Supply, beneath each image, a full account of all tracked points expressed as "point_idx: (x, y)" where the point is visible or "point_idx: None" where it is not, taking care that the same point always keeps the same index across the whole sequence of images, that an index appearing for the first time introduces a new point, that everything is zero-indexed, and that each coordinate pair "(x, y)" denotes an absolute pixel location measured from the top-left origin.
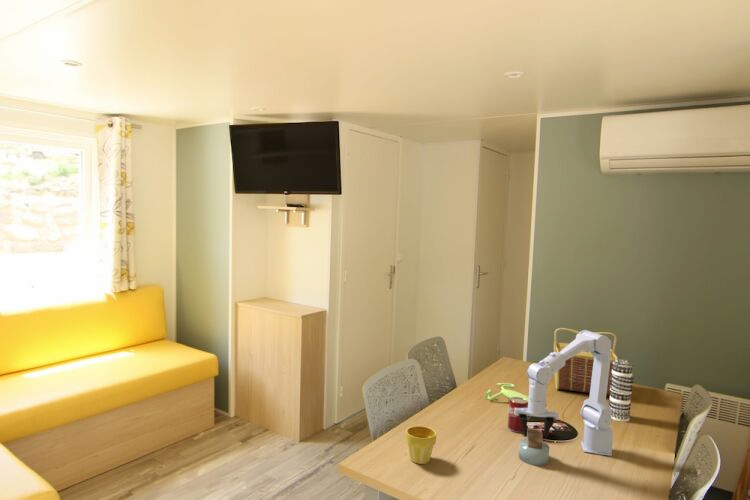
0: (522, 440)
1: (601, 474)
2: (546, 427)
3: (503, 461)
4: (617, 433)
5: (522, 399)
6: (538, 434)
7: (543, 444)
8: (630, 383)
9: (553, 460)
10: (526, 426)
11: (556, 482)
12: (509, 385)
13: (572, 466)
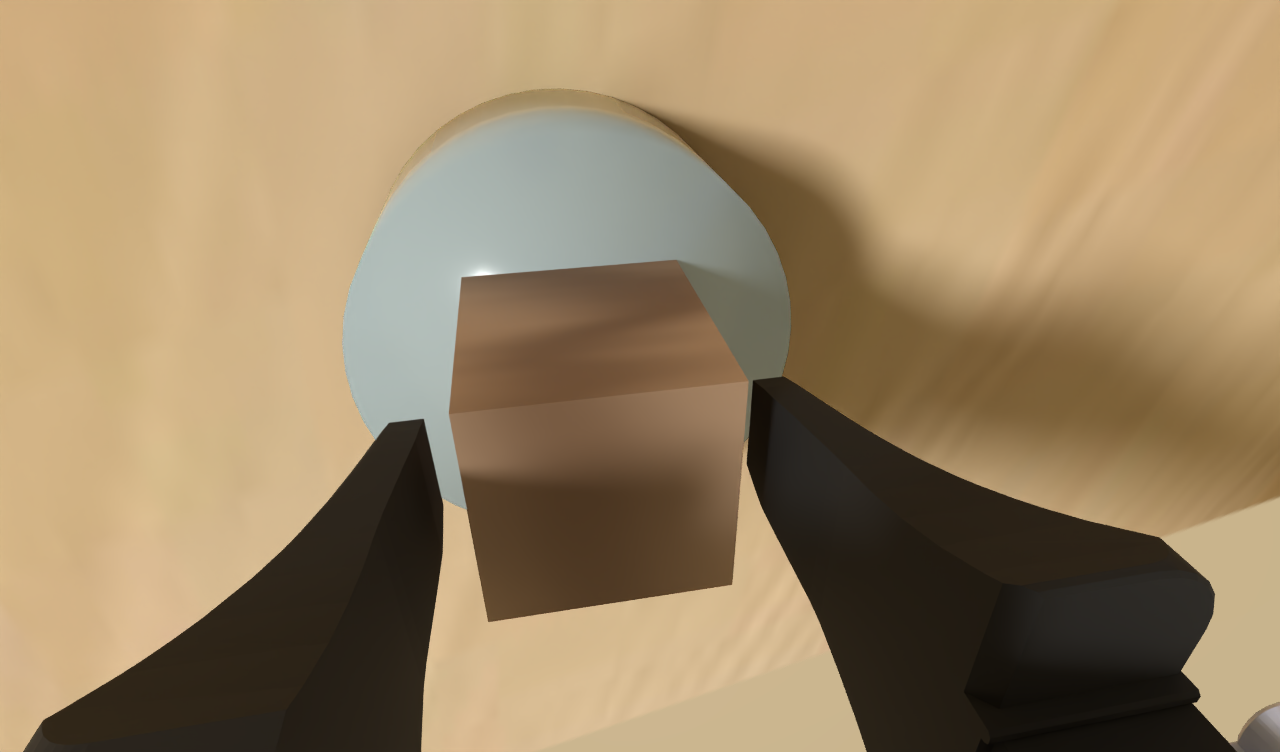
0: (384, 269)
1: (1147, 355)
2: (851, 685)
3: (223, 461)
4: None
5: None
6: (658, 593)
7: (722, 287)
8: None
9: (790, 241)
10: (417, 725)
11: (719, 594)
12: None
13: (950, 303)
